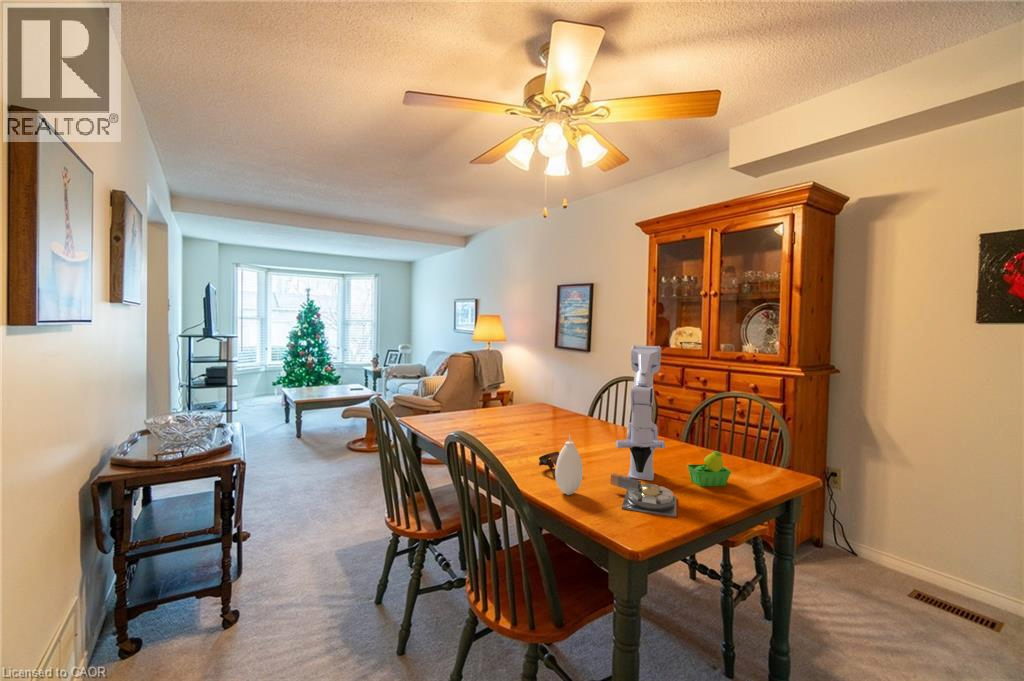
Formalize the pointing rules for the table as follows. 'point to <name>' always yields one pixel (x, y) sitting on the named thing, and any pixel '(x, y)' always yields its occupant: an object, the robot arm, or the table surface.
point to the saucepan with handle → (636, 488)
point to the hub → (657, 508)
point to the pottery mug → (549, 462)
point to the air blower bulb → (568, 469)
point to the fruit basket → (710, 471)
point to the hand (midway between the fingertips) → (639, 471)
